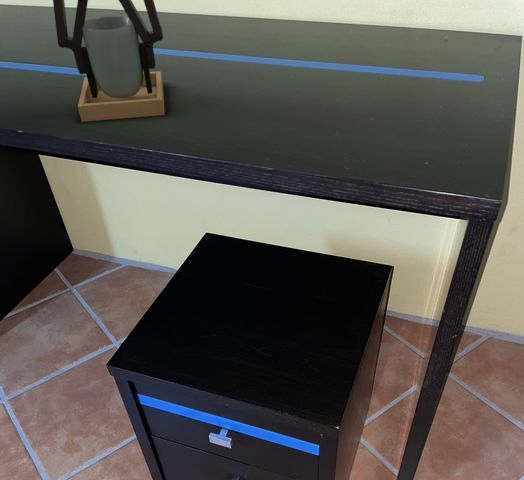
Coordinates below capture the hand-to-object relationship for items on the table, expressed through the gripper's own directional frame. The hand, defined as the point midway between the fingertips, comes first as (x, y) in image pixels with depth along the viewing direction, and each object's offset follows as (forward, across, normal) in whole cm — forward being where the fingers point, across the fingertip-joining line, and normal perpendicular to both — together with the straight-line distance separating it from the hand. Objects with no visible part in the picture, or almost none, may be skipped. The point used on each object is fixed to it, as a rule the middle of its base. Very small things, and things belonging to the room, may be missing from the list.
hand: (122, 92), depth 83 cm
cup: (0, 0, 0) cm, 0 cm away
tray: (+2, 0, 0) cm, 2 cm away
